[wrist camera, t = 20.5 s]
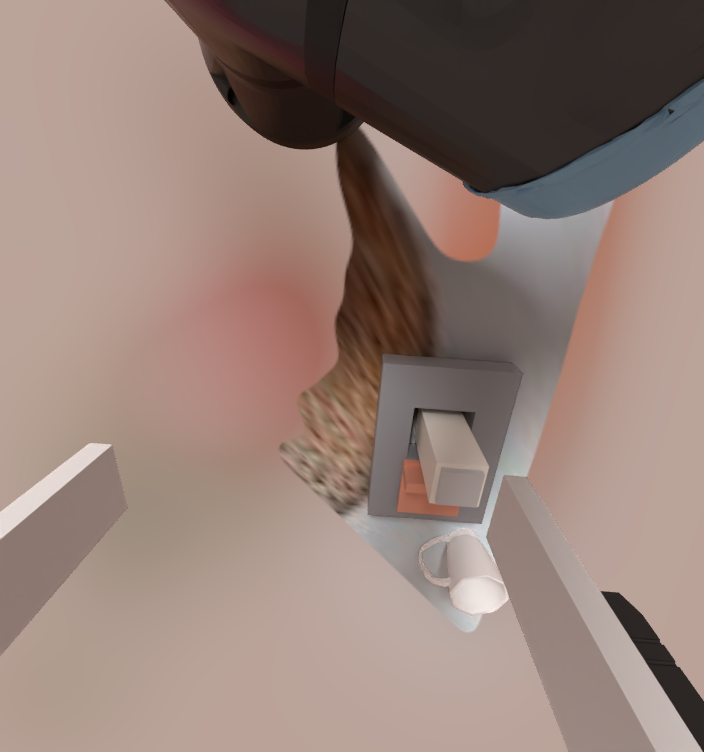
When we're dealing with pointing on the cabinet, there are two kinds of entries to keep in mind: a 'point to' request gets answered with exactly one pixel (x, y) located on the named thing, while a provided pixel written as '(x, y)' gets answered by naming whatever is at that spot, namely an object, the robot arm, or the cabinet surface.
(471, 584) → the cup
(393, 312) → the cabinet surface
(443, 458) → the plug
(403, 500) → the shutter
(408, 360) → the socket
